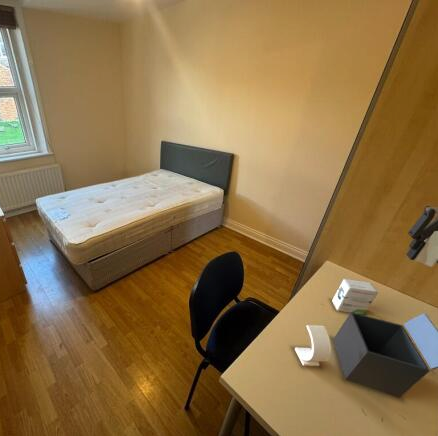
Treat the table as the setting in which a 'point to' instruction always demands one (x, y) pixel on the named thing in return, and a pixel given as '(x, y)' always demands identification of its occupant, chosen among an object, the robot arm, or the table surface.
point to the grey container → (378, 355)
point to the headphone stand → (315, 347)
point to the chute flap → (425, 338)
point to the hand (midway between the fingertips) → (423, 259)
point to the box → (429, 251)
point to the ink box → (354, 296)
